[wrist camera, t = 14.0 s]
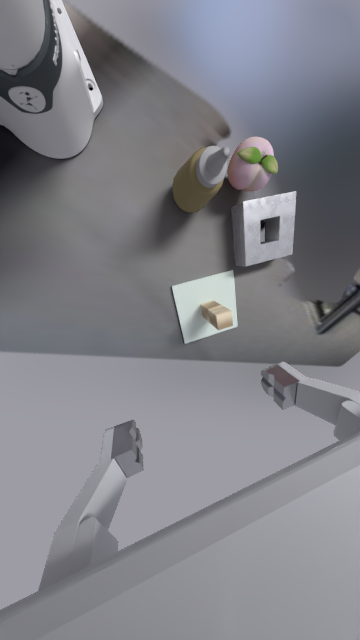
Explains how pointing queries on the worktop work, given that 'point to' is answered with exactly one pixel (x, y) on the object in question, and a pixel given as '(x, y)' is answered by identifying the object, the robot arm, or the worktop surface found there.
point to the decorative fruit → (252, 164)
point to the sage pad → (201, 292)
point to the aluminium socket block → (277, 228)
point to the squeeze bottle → (200, 178)
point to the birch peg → (217, 315)
